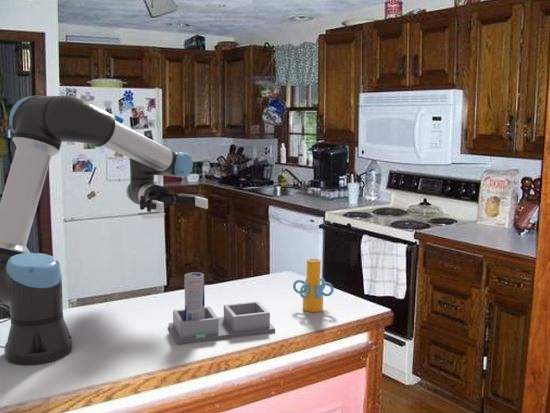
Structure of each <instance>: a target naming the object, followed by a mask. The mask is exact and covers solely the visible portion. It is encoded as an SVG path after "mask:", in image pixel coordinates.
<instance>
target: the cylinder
mask: <svg viewBox="0 0 550 413" xmlns="http://www.w3.org/2000/svg"><path fill="white" fill-rule="evenodd" d="M321 282H322V283H321ZM298 283H302V285H301V286H300V289H299V290H298V289H297V288H296V286H297V284H298ZM326 286H329V287H330V291H329V293H325V292H324V290H325V287H326ZM292 289H293V290H294V292H295V293H297V294H299V296H300V298H302V310H303V311H305V312H309V313H318V312H321V311H323V309H324V297H330V296H332V294H334V290H335V289H334V286H333V284H332V283H331V282H328V281H326V280H325V278H323V277H321V259H320V258H314V257H311V258H307V259H306V278H305V280H303V279H297V280H295V281H294V282H293V285H292Z"/></svg>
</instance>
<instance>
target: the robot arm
mask: <svg viewBox="0 0 550 413" xmlns="http://www.w3.org/2000/svg"><path fill="white" fill-rule="evenodd" d="M8 122H9V126H10V129H11V132H12V133H13V135H12V142H13V143H14V145H15V147H16V149H15V151H14V155H13V158H12V162H11V165H10V168H9V172H8V175H7V178H6V183H5V185H4V188H3V189H4V190H3V192H2V196H1V199H0V305H4V306H8V307H9V313H10V328H9V331H8V335H7V340H6V343H5V345H4V357H5V360H6V361H8V362H9V363H12V364H14V365H15V364H16V365H25V366H26V365H38V364H45V363H50V362H53V361H56V360H60V359H61V358H62V359H63V358H64V357H65V356H67V355H68V354H70V353H71V352H72V350H73V338H72V336H71V334H70V331H69V329H68V327H67V326H68V325H67V324H66V323H67V322H65V319H64V308H63V307H64V306H63V305H64V303H63V283H62V282H63V278H62V276H63V275H62V274H63V273H62V271H61V265H60V262H59V260H58V258H56V257H55V256H52V255H50V254H46V253H40V252H37V253H35V252H31V251H30V250H29V249H28V247H27V245H28V240H29V236H30V233H31V230H32V226H33V222H34V219H35V215H36V212H37V208H38V205H39V201H40V198H41V194H42V191H43V188H44V184H45V180H46V177H47V173H48V170H49V169H48V168H49V165H50V162H51V159H52V157H54V156H56V155H57V154H59V153H60V149H61V147H62V142H64V143H65V142H69V143H70V142H72V143H83V144H88V145H90V146H92V147H94V148H101V147H104V148H107V149H108V150H111V151H113V152H116V153H117V154H120V155H122V156H125V157H127V158H129V159H128V160H129V172H130V177H129V178H130V179H129V180H130V183H128V185H127V187H126V196H127V198H128V200H130V201H131V202H133V203H134V204H136V205H139V210H146V212H147V213H151V212H152V211H154V212H158V213H161V214H163V213H164V212H165V209H166V208H167V207H170V206H179V205H189V206H190V205H191V206H195V207H199V208H203V209H205V210H207V209H209V199H208V198H205V195H201V194H200V193H197V194H187V193H181V192H180V193H172V192H171V191H169V189H167V187H165V186H163V185H158V184H156V183H155V176H163V177H174V178H175V177H176V178H186V177H188V176H190V174H192V171H193V167H194V162H193V158H192V156H191V155H190V154H189V153H187V152H182V151H174V150H172V149H171V148H168V147H167V146H165V145H163V144H162V143H161V144H160V143H159V142H157V141H154V140H153V139H151V138H149V137H147V136H145V135H143V134H141V133H140V132H138V131H135V130H134V129H132V128H130V127H128V126H127V125H124V124H122V122H121V123H120V122H118V121H117V120H116V119H115V117H114V115H113V114H111V113H109V112H108V111H106V110H104V109H102V108H101V107H98V106H96V105H94V104H92V103H90V102H88V101H86V100H83V99H81V98H78V97H76V96H71V95H39V94H38V95H31V96H26V97H24V98H21V99H19V100H18V101H17V102H16V103H15V104H14V105H13V106H12V108H11V110H10V113H9V119H8Z"/></svg>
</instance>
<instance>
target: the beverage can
mask: <svg viewBox="0 0 550 413" xmlns="http://www.w3.org/2000/svg"><path fill="white" fill-rule="evenodd" d="M183 279H184V280H183V281H184V309H185V321H191V320H200V319H205V307H206V306H205V304H206V303H205V300H206V299H205V274H204V273H203V272H199V271H198V272H197V271H195V272H193V271H192V272H187V273H185V274H184V278H183Z"/></svg>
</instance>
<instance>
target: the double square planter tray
mask: <svg viewBox="0 0 550 413" xmlns="http://www.w3.org/2000/svg"><path fill="white" fill-rule="evenodd" d="M270 317H271V312H270V311H269V310H268V309H266V307H265V306H264V305H263V304H261V303H260V301H259V300H257V301H256V300H255V301H249V302H248V301H247V302H239V303H230V304H223V316H221V317H220V316H219V317H218V316H217V315H216V312H214V310H213V309H212V308H211V307H210V306H205V319H200V320H191V321H185V308H184V309H175V310H172V322H168V328H170V329H169V330H171V331H170V332H171V334H172V337H173V339H174V340H175V343H176V345H179V346H180V345H186V344H187V343H188V344H194V343H202V342H208V341H217V340H224V339H233V338H240V337H241V338H242V337H249V336H256V335H263V334H271V333H272V334H273V333H276V328H275V327H274V326H273V325H272V324H271V318H270Z"/></svg>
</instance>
